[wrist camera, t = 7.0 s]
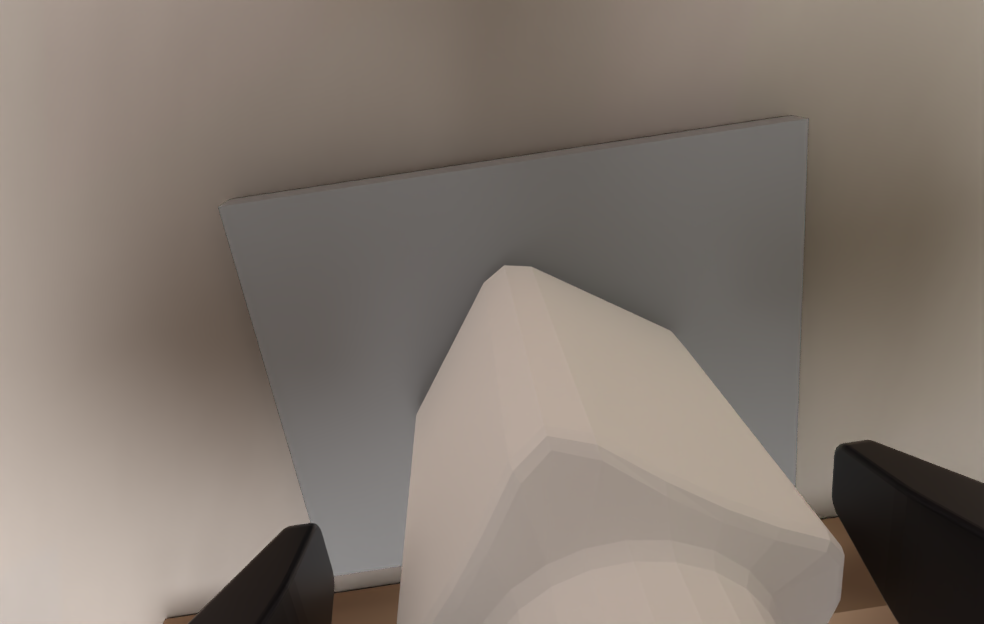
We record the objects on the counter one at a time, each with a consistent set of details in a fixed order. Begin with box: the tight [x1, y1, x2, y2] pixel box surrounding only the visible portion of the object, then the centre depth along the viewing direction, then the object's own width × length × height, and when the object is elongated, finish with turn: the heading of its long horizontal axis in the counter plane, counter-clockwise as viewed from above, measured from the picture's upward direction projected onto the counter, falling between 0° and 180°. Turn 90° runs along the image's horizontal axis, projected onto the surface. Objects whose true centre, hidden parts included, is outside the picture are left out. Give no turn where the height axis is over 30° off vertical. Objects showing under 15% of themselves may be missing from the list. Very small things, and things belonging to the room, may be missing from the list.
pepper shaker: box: [397, 265, 845, 624], centre depth 8 cm, size 4×4×10 cm
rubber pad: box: [218, 115, 809, 576], centre depth 13 cm, size 10×8×1 cm
